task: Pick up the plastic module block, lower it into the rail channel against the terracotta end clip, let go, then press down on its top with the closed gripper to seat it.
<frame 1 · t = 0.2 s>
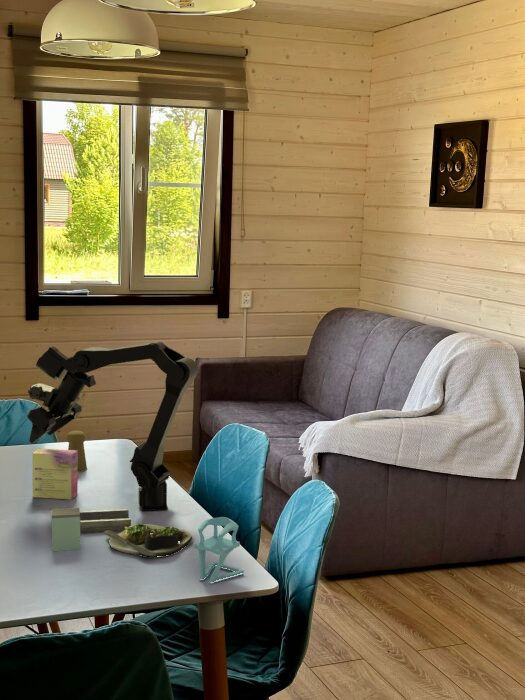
hand: (39, 438, 237), 15 cm above the table, tool tilted 30°, fingers open, 9 cm apart
salad plate: (151, 546, 206), on the table
box: (55, 496, 238), on the table
module: (66, 546, 203), on the table
cork: (76, 469, 263), on the table
rail: (91, 526, 216), on the table
chair: (217, 577, 189), on the table
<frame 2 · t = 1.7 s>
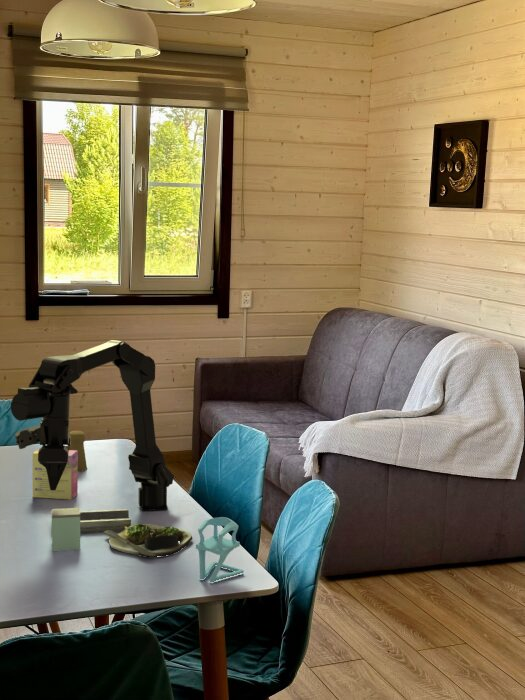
hand: (53, 484, 203), 13 cm above the table, tool pointing down, fingers open, 9 cm apart
nothing on the table moved.
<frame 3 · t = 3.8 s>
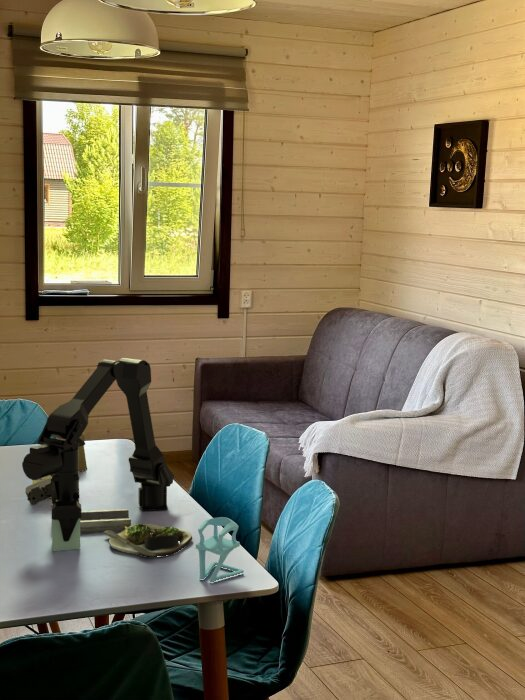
hand: (66, 537, 203), 2 cm above the table, tool pointing down, fingers closed on module, 4 cm apart
module: (66, 546, 203), on the table, touching gripper
everything else where it was.
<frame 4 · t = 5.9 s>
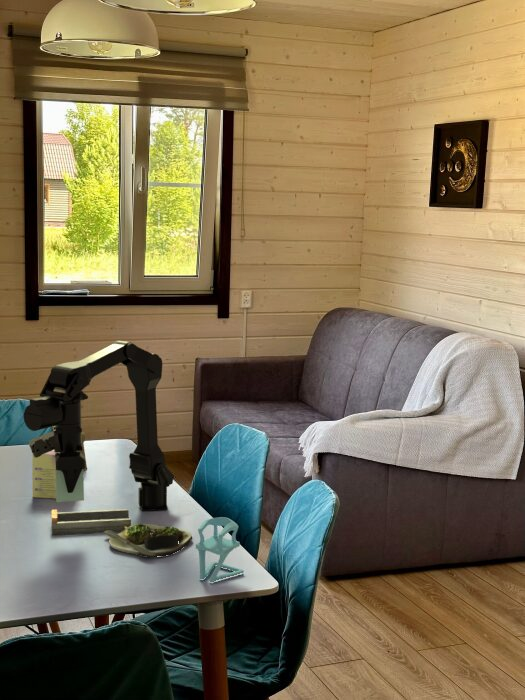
hand: (69, 489, 206), 11 cm above the table, tool pointing down, fingers closed on module, 4 cm apart
module: (69, 498, 207), point 9 cm above the table, touching gripper
everything else where it was.
when the fingers open (4 cm above the table, at t = 8.2 s): module stays where it is, resting on rail.
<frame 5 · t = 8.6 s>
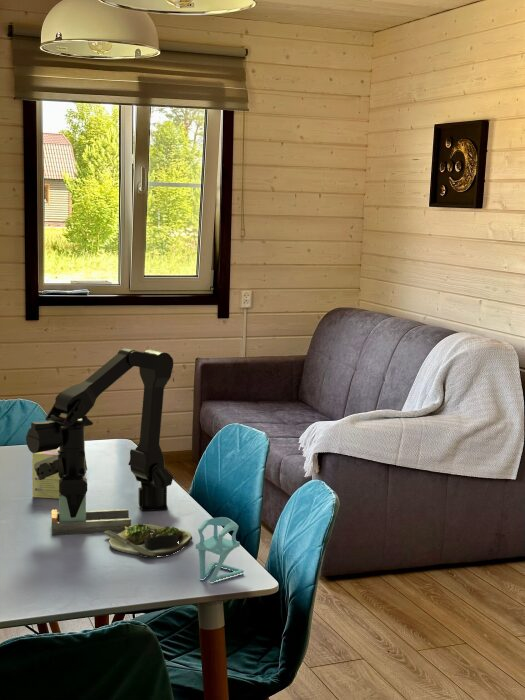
hand: (72, 510, 215), 4 cm above the table, tool pointing down, fingers open, 9 cm apart
module: (72, 523, 215), point 1 cm above the table, touching rail
everything else where it was.
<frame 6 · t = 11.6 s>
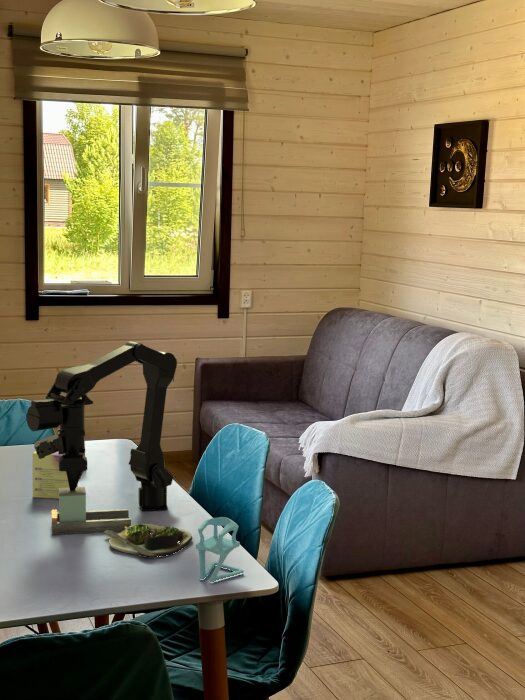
hand: (72, 490, 214), 9 cm above the table, tool pointing down, fingers closed, pressing on module
module: (72, 523, 215), point 1 cm above the table, touching gripper, rail
everything else where it was.
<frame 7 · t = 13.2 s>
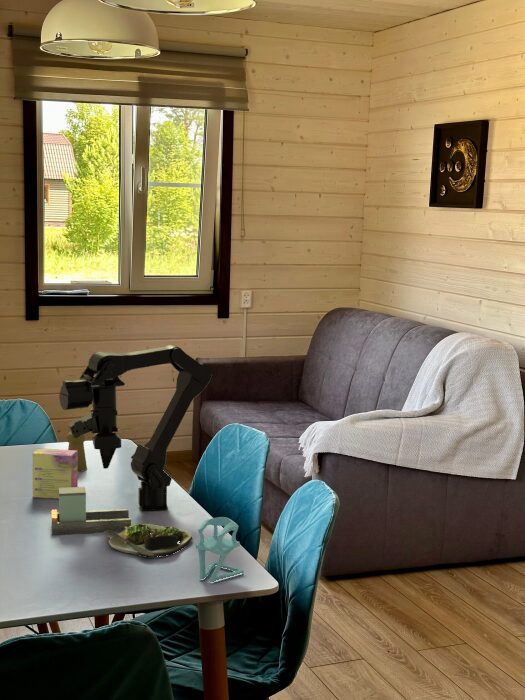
hand: (105, 468, 223), 12 cm above the table, tool pointing down, fingers closed
module: (72, 523, 215), point 1 cm above the table, touching rail
everything else where it was.
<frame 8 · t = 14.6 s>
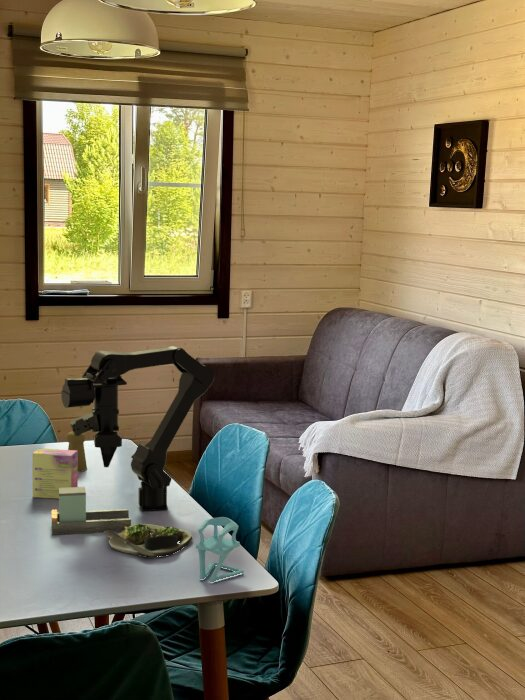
hand: (106, 466, 223), 12 cm above the table, tool pointing down, fingers closed
nothing on the table moved.
at the end: module 0.3 cm from the target spot on the rail, point 1.0 cm above the rail's base; module tilted 0°; the gripper is holding nothing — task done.
